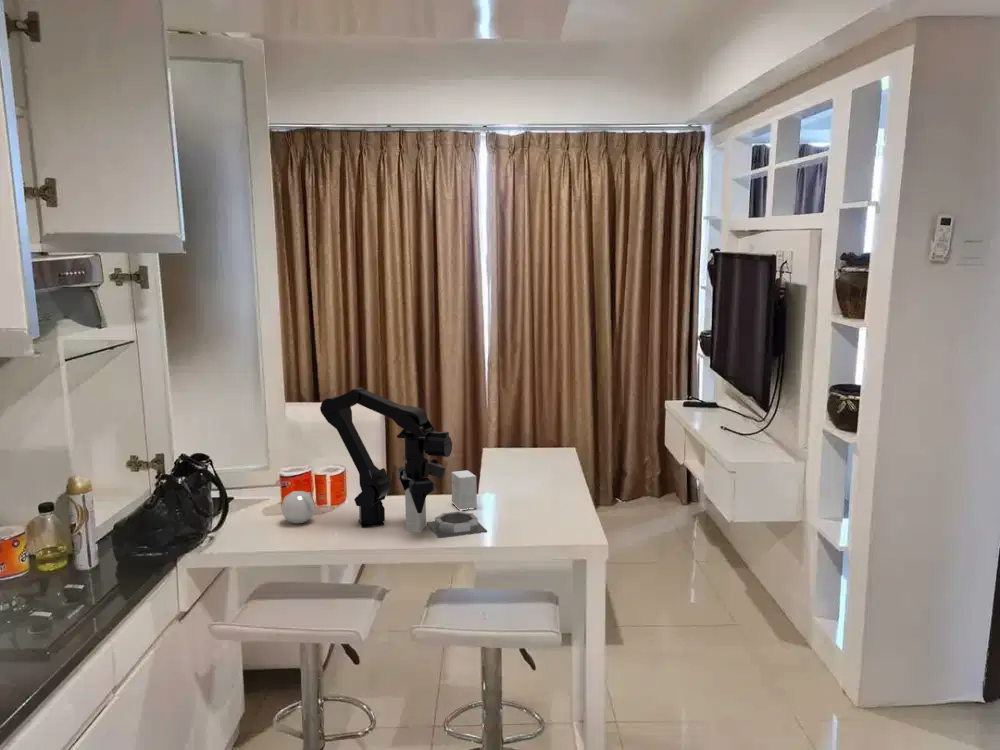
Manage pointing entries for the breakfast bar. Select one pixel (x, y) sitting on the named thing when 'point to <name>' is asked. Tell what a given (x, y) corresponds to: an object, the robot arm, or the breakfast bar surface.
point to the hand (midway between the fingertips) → (415, 508)
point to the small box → (464, 489)
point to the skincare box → (414, 515)
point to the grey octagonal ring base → (455, 524)
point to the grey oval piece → (298, 506)
